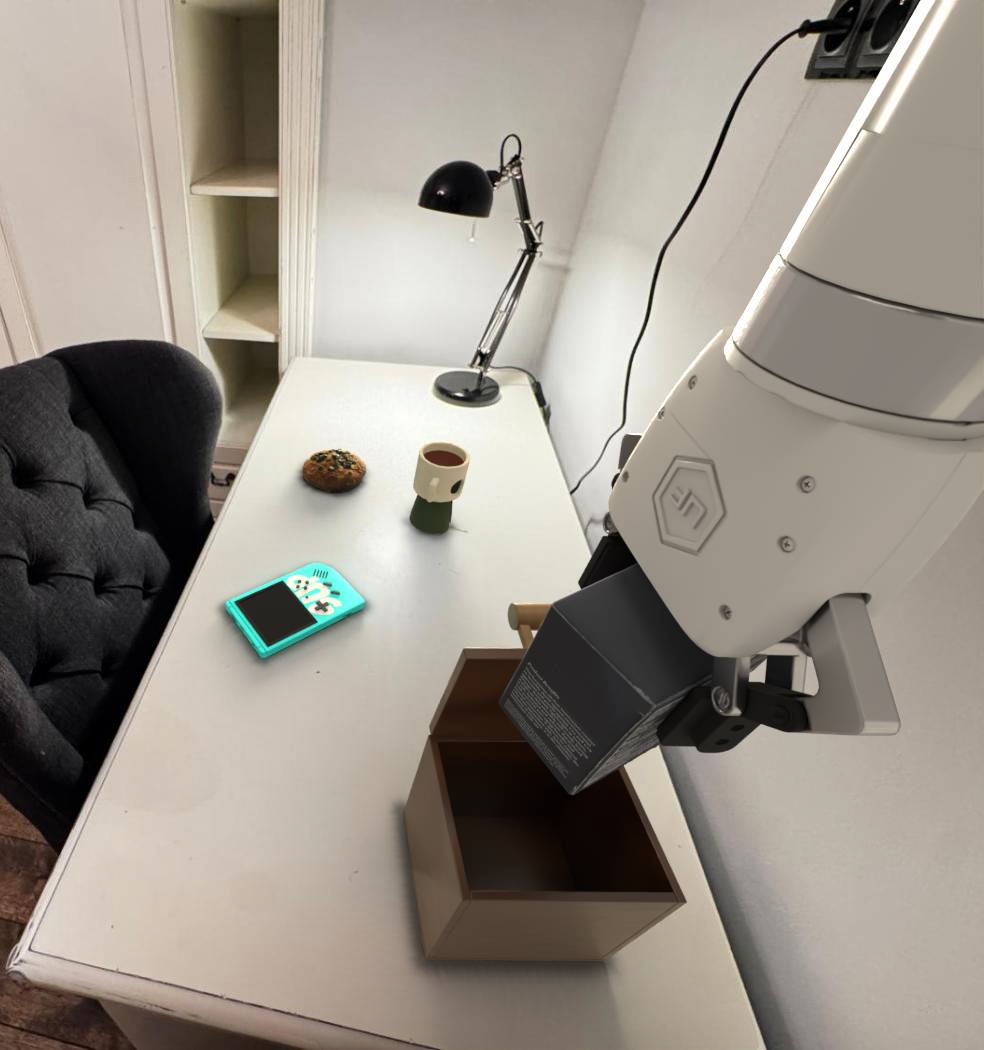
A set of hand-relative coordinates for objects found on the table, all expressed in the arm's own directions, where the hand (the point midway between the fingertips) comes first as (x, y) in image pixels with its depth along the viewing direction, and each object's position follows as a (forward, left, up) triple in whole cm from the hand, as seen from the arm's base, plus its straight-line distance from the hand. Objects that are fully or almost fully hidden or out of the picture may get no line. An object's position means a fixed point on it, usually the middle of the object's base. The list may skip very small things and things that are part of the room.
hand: (642, 655), depth 30 cm
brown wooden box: (0, 0, -33) cm, 33 cm away
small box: (0, -1, -6) cm, 6 cm away
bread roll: (+33, -54, -33) cm, 71 cm away
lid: (+1, -4, -12) cm, 13 cm away
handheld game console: (+28, -23, -33) cm, 49 cm away
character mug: (+15, -47, -33) cm, 59 cm away
